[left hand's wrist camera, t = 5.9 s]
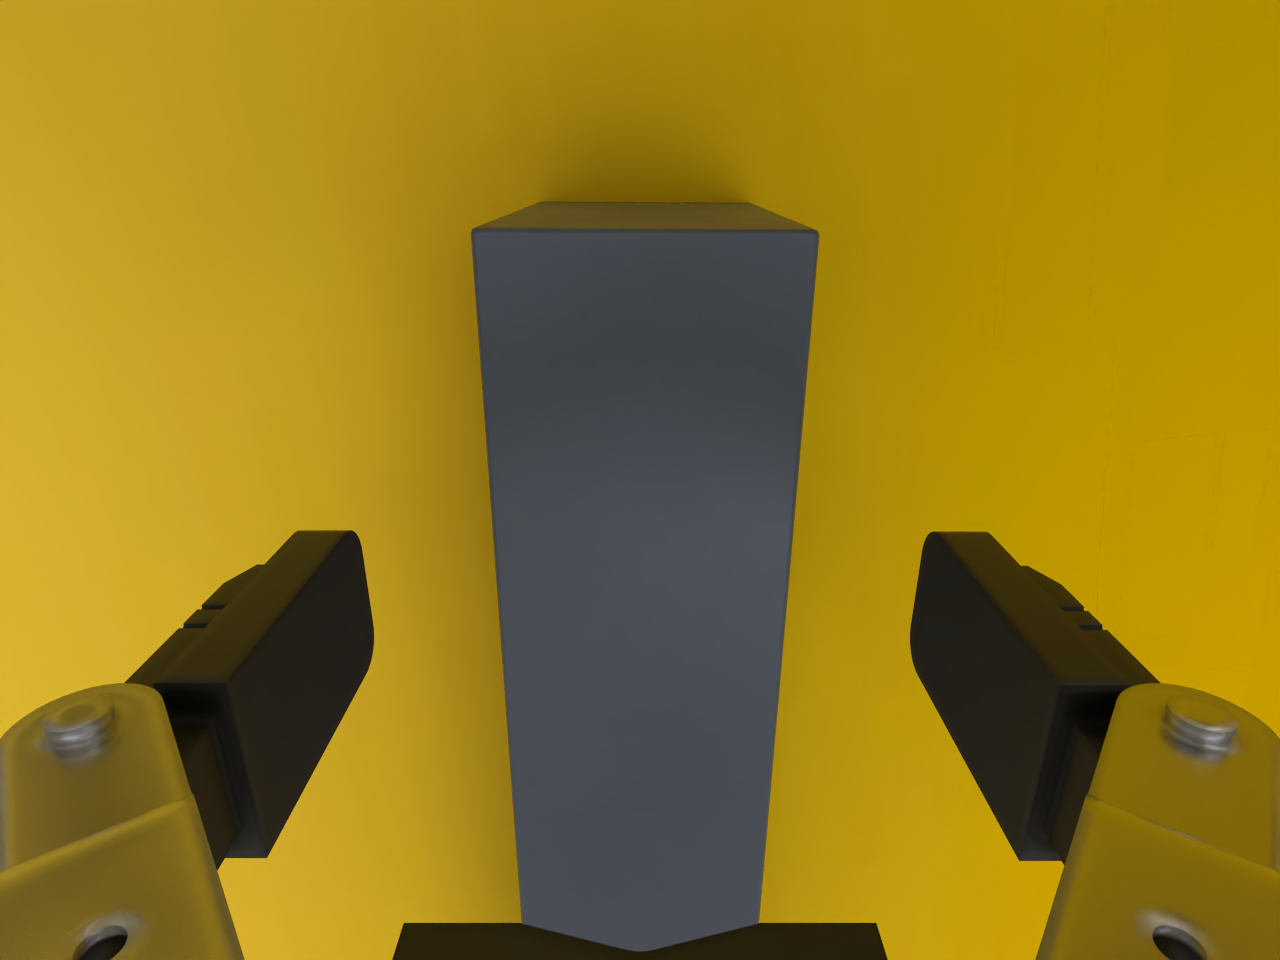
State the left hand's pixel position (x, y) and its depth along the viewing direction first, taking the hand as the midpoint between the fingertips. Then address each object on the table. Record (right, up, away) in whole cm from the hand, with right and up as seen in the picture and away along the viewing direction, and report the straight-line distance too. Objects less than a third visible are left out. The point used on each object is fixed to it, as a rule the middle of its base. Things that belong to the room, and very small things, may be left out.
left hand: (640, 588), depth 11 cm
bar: (0, -4, +14) cm, 14 cm away
